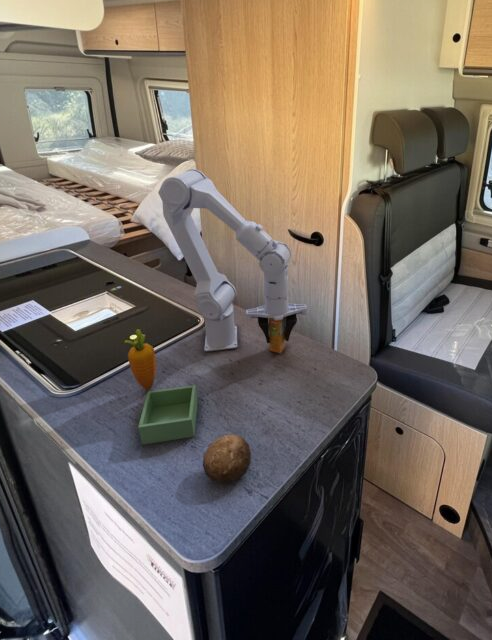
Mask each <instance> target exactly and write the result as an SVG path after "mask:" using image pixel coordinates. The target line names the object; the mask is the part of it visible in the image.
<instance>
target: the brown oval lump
mask: <svg viewBox="0 0 492 640" xmlns="http://www.w3.org/2000/svg"><path fill="white" fill-rule="evenodd" d="M251 460H252V452H251V448H250V445H249V443H248V442H247V441H246V439H245V438H244V437H243V436H240V435H238V434H235V433H234V434H230V433H229V434H224V435H222V436H220V437H217V438H216V439H215V440H214V441H212V442H211V443H210V444H209V445H208V447H207V449H206V450H205V452H204V453H203V458H202V467H203V471H204V473H205V474H204V475H205V476H206V477H208V479H210V481H211V482H214V483H217V484H230V483H234V482H237V481H240V480H241V478H242V477H244V476H245V474H246V473H247V472H248V469H249V468H250V465H251V463H252V462H251Z"/></svg>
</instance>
